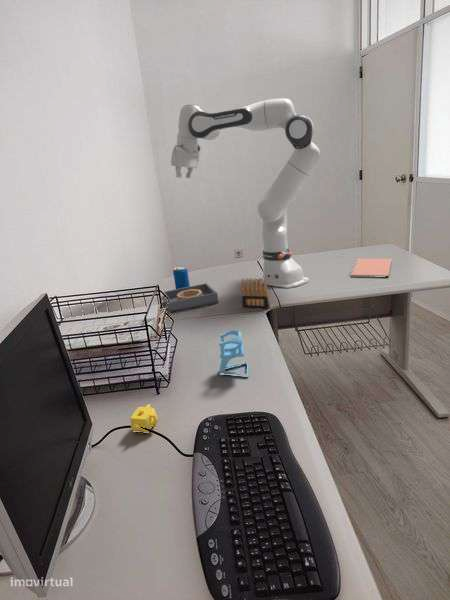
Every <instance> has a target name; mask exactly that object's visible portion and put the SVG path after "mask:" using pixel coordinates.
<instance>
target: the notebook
mask: <svg viewBox="0 0 450 600" xmlns="http://www.w3.org/2000/svg"><path fill="white" fill-rule="evenodd" d="M392 260H393V259H392V258H357V259H355V261H354V262H353V265H352V267H351V268H350V271H349V273H348V275H349V274H350V277H351V276H364V277H363V278H369V277H370V276H371V277H372V276H388V277H389V276H390V270H391V265H392ZM350 272H351V273H350ZM365 276H366V277H365ZM367 276H368V277H367Z"/></svg>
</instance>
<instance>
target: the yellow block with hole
mask: <svg viewBox="0 0 450 600" xmlns="http://www.w3.org/2000/svg"><path fill="white" fill-rule="evenodd" d="M129 419H130V427H131V431H132V430H133V431H140V432H148V431H147V430H145V429H143V428H147V429H151V428H152V427H153V426H154V424H155V425H156V424H158V422H159V418H158V415H157V413H156V411H155V408H154V407H152V404H147V405H146V406H139V407H137V408H136V409H135V411H134V412H133V414H132V415H131V416H130V418H129ZM141 427H143V428H141ZM154 427H155V426H154ZM154 427H153V428H154ZM133 431H132V432H133Z"/></svg>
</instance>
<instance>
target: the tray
mask: <svg viewBox="0 0 450 600" xmlns="http://www.w3.org/2000/svg"><path fill="white" fill-rule="evenodd" d="M163 293H164V294H165V295H166V296H167V297H168V299H169V304H168V307H167V308H168V310H169V311H170V313H171V314H174V313H179V312H182V311H187V310H192V309H198V308H202V307H207V306H210V305H211V306H212V305H215V304H219V295H218V292H217V291H216V290H215V289H214V288H213V287H212V286H211V285H210V284H208V283H207V282H205V283H200V284H195V285H190V286H189V287H184V288H179V289H176V288H175V289H169V290H164V291H162V294H163ZM163 300H164V303H165V305H166V304H167V299H166V298H165V297H164V296H163Z"/></svg>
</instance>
